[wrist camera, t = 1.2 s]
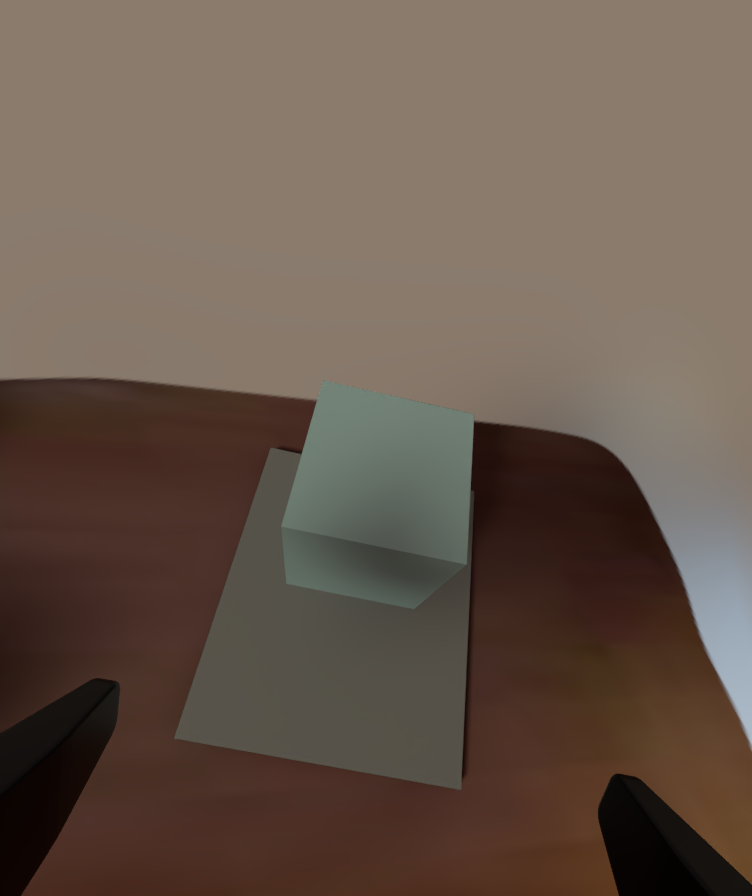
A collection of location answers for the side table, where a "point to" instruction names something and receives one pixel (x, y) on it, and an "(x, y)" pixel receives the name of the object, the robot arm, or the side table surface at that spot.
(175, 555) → the side table surface
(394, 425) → the block
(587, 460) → the side table surface
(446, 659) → the mat
